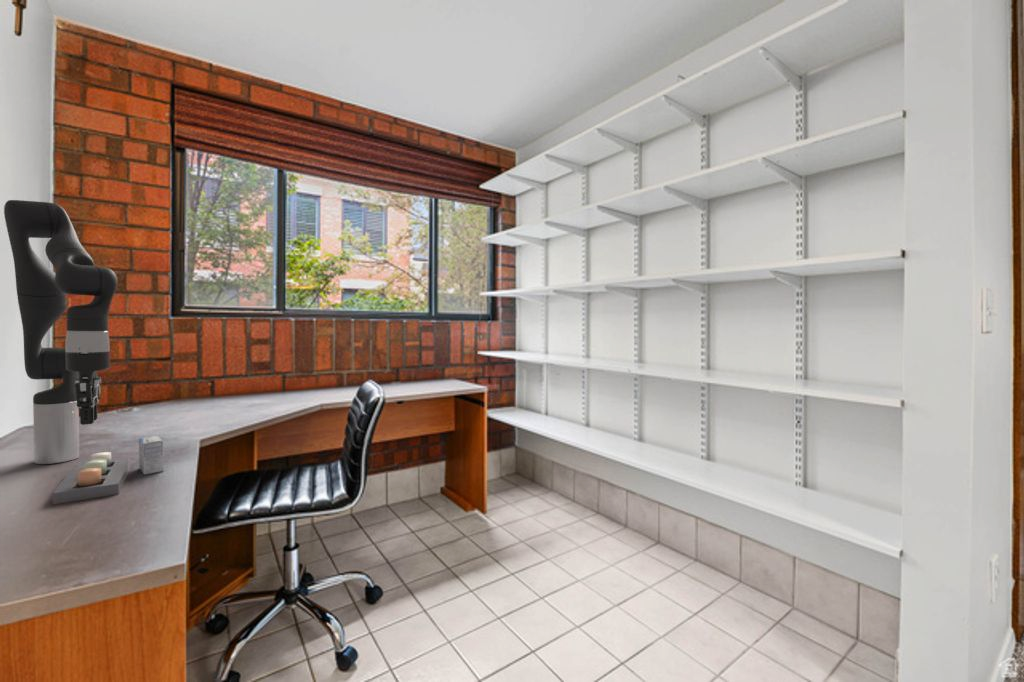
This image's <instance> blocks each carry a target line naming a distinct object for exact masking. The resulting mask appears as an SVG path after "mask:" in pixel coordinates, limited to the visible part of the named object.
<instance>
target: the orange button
mask: <svg viewBox="0 0 1024 682" xmlns="http://www.w3.org/2000/svg"><path fill="white" fill-rule="evenodd" d="M99 482H101V468H89V469H84V470H81V471H79V472H78V485H79V486H87V485H93V484H97V483H99Z"/></svg>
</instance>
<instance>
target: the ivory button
mask: <svg viewBox="0 0 1024 682" xmlns="http://www.w3.org/2000/svg"><path fill="white" fill-rule="evenodd" d="M101 459H104V460H106V461H107V466H108V465H111V461H112V452H111V451H104V452H96V453H92V454H90V461H93V460H101Z"/></svg>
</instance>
